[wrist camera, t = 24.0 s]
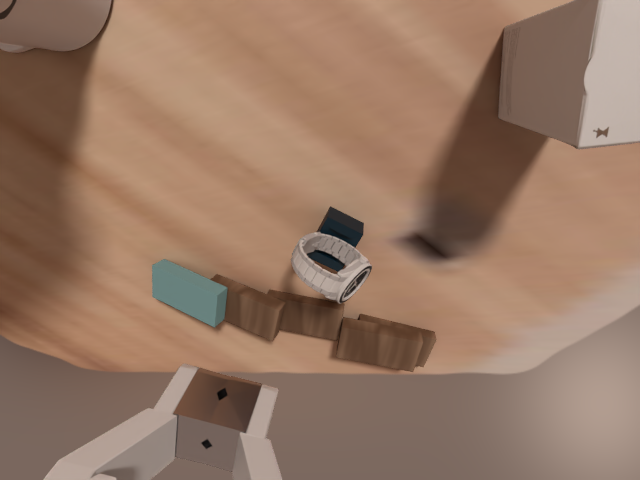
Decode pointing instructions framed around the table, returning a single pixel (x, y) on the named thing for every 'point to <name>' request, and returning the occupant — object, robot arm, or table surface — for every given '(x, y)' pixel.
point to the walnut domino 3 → (379, 344)
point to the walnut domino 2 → (310, 315)
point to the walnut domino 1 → (252, 309)
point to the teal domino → (189, 292)
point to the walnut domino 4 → (427, 335)
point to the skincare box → (575, 73)
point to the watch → (332, 257)
